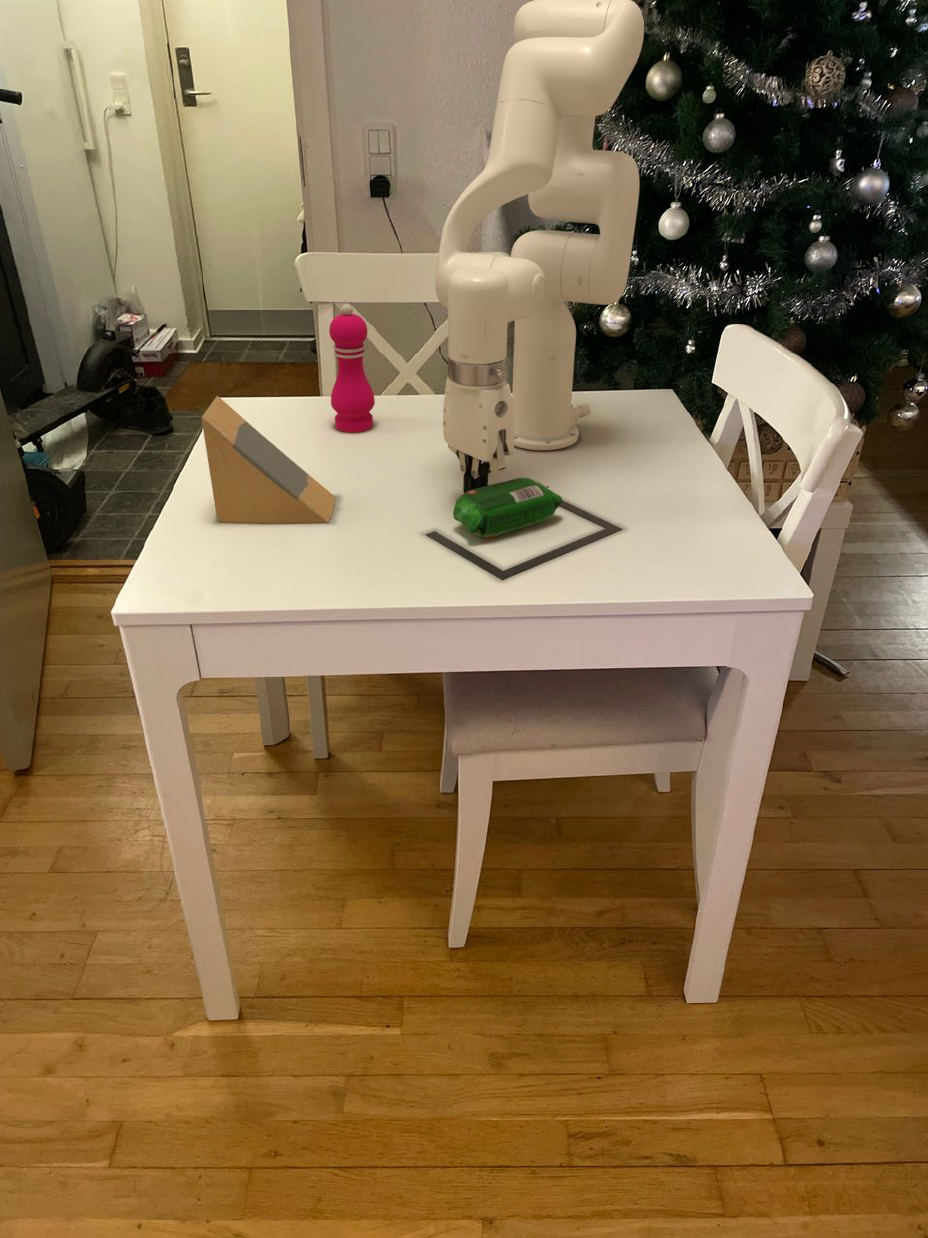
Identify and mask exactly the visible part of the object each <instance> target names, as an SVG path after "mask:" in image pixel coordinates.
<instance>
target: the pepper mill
mask: <svg viewBox="0 0 928 1238" xmlns="http://www.w3.org/2000/svg"><path fill="white" fill-rule="evenodd" d="M353 312H354V308H353V306H352V305H351V304H349V303H344V304H343V305H342V306H341V314H338V315H336V316H335V317H334V318H333V319H332V320H331V322H330V325H329V328H328V329H329V331H328V332H329V333H328V334H329V336H330V339H331V340H332V341H333V343H334V345H333V349H334V352H333V354H334V356H336V359H337V376H336V379H335V382H334V384H333V387H332V389H331V393H330V406H331V408H332V409H333V410H334V412H336V413H337V414H336V415H335V416H334V422H335V423H334V424H335V428H336V430H338V431H340V432H343V433H350V434H351V433H353V434H354V433H355V434H356V433H362V432H366V431H368V430H370V429H372V428H373V426H374V418H373V417H374V416H373V414H372V413H371V411H372V410H373V408H374V406H375V405H376V401H375V400H376V399H375V394H374V390H373V388H372V385H371V384H370V382H369V380H368V379H367V378H368V377H367V376H366V372H365V369H364V356H365V355H366V350H365V349H366V345H365V344H364V343H365V341H366V339H367V337H368V326H367V323H366V322H365V320H364V319H363V318H362V316H361V315H358V314H356V313H353Z"/></svg>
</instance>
